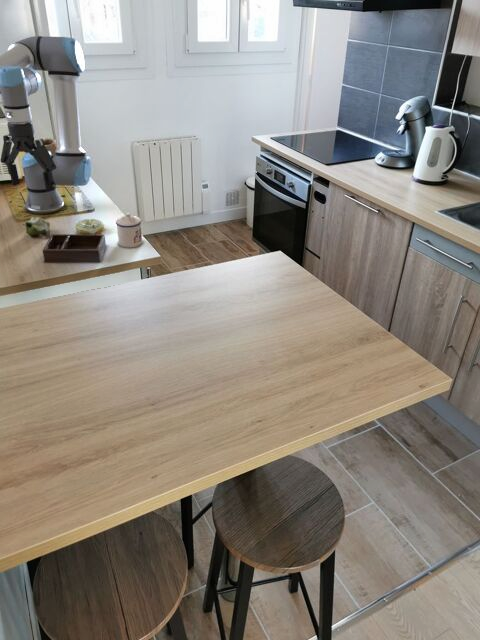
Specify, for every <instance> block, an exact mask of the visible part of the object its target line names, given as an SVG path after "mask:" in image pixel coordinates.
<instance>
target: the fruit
mask: <svg viewBox="0 0 480 640" xmlns="http://www.w3.org/2000/svg"><path fill="white" fill-rule="evenodd" d="M24 222H25V223H22V225H23V226H25V233H26V234H27V235H29V236H31V237H34V236H35V235H39V236H43V237H46V238H50V237H51V232H50V231H51V230H50V229H51V225H50V222H49V221H45V220H44V219H43V218H42V217H41V216H35V217H34V216H32V217H31V218H30V220H25V221H24Z"/></svg>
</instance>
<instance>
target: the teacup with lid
mask: <svg viewBox="0 0 480 640" xmlns="http://www.w3.org/2000/svg"><path fill="white" fill-rule="evenodd" d="M115 224H116V228H117V238H118V245H119V246H121V247H122V248H137V247H139V246H141V245H142V243H143V235H142V219H141V218H140V217H139V216H137V215H132V214H131V213H130V212H126V213H125V214H124V215H122V216H120V217H118V218H117V219H116V220H115Z"/></svg>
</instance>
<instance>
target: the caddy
mask: <svg viewBox="0 0 480 640" xmlns="http://www.w3.org/2000/svg"><path fill="white" fill-rule="evenodd" d="M105 236H106V235H105V234H97V235H82V234H80V233H78V234H77V233H76V234H74V233H73V234H72V233H71V234H69V233H67V234H65V233H64V234H62V233H61V234H59V233H58V234H57V233H56V234H53V233H52V234H50V237H48V238H49V239H48V240H47V241H46V243H45V245H44V247H43V249H42V254H43V259H44V263H101V262H102V258H103V256H104V253H105V249H106V246H107V244H106V237H105Z"/></svg>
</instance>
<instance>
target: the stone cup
mask: <svg viewBox="0 0 480 640" xmlns="http://www.w3.org/2000/svg"><path fill="white" fill-rule="evenodd" d="M43 141H44V144H45V147H46V149H47V151H50V152H51V155H54V156H56V153H55V151H56V150H57V149H58V147H59V143H58V142H57V140H55V139H54V138H51V137H49V138H48V137H47V138H44V139H43Z"/></svg>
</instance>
